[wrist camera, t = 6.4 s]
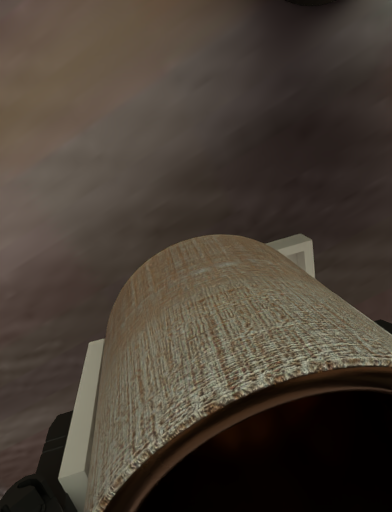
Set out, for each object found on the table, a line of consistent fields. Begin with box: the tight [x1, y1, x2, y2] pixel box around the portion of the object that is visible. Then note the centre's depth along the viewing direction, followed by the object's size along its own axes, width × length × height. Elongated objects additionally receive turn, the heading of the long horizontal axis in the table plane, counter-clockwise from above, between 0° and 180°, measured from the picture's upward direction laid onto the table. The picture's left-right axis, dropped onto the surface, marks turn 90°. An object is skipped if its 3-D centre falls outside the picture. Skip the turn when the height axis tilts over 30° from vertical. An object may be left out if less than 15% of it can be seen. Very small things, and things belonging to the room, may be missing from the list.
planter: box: [84, 234, 392, 512], centre depth 12 cm, size 11×11×10 cm
